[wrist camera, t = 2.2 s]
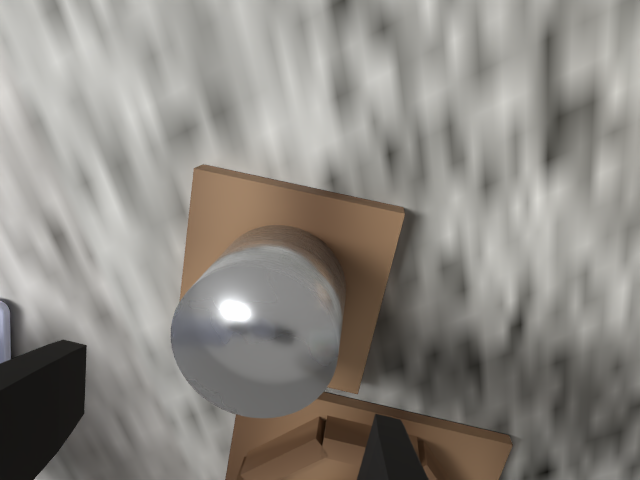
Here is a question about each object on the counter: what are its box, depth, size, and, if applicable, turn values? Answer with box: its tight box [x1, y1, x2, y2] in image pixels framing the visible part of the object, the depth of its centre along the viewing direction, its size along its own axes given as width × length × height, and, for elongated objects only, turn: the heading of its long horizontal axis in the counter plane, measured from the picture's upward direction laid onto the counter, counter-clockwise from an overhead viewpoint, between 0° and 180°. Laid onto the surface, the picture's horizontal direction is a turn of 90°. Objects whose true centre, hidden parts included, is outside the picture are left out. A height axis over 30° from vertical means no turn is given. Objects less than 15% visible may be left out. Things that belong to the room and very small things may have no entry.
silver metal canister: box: [171, 225, 346, 418], centre depth 16 cm, size 5×5×4 cm
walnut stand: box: [180, 164, 405, 394], centre depth 19 cm, size 8×8×1 cm
